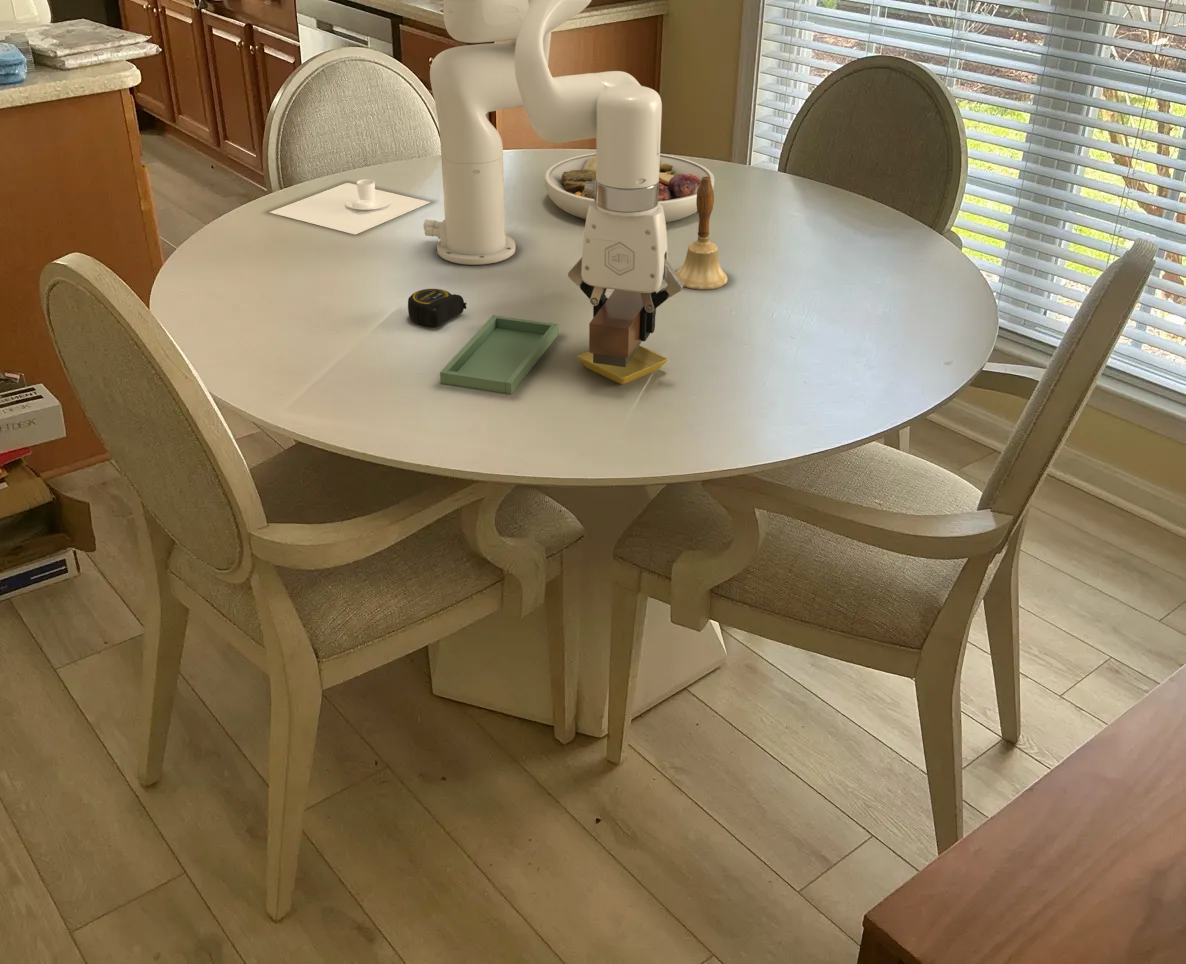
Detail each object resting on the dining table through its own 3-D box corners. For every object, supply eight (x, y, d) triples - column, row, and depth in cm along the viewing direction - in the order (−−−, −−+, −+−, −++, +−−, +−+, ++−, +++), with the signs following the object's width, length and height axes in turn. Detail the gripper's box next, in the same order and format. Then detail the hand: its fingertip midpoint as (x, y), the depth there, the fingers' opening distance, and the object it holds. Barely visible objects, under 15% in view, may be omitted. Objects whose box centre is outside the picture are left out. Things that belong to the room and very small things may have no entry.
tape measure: (436, 335, 160) (435, 310, 158) (398, 323, 163) (396, 298, 161) (467, 318, 165) (466, 293, 163) (430, 307, 168) (428, 283, 166)
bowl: (510, 204, 206) (509, 161, 202) (617, 167, 226) (618, 126, 222) (642, 245, 190) (643, 198, 186) (745, 201, 210) (748, 158, 205)
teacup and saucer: (367, 216, 200) (364, 193, 198) (332, 208, 204) (330, 185, 202) (400, 202, 207) (398, 180, 204) (366, 194, 210) (364, 172, 208)
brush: (588, 363, 144) (589, 323, 141) (619, 320, 155) (620, 281, 152) (627, 369, 143) (628, 328, 140) (655, 324, 154) (657, 286, 151)
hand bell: (724, 292, 174) (732, 187, 165) (670, 287, 175) (675, 183, 167) (730, 271, 181) (738, 170, 172) (677, 267, 182) (682, 166, 174)
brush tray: (440, 386, 147) (439, 372, 146) (493, 328, 162) (492, 314, 161) (511, 397, 145) (511, 383, 144) (558, 337, 160) (558, 323, 159)
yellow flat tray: (622, 351, 156) (623, 336, 155) (669, 372, 151) (669, 358, 150) (575, 370, 151) (575, 355, 150) (621, 393, 146) (622, 378, 145)
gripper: (549, 197, 138) (551, 337, 147) (689, 212, 133) (682, 355, 143) (569, 179, 144) (569, 314, 153) (703, 192, 140) (695, 331, 149)
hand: (623, 332), depth 148 cm, fingers closed on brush, 5 cm apart
